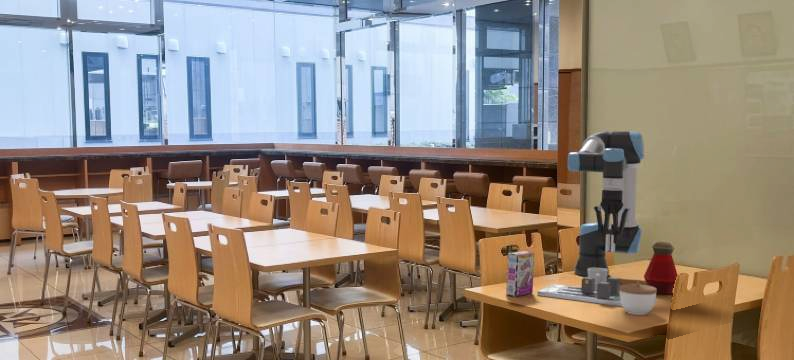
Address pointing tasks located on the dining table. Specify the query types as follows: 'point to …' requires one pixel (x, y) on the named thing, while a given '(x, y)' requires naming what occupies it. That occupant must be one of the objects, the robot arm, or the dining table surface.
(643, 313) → the lidded bowl
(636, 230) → the robot arm
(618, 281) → the block
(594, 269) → the cup
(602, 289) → the block
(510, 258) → the candy bar box
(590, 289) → the block
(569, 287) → the panel
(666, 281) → the bottle
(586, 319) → the dining table surface
